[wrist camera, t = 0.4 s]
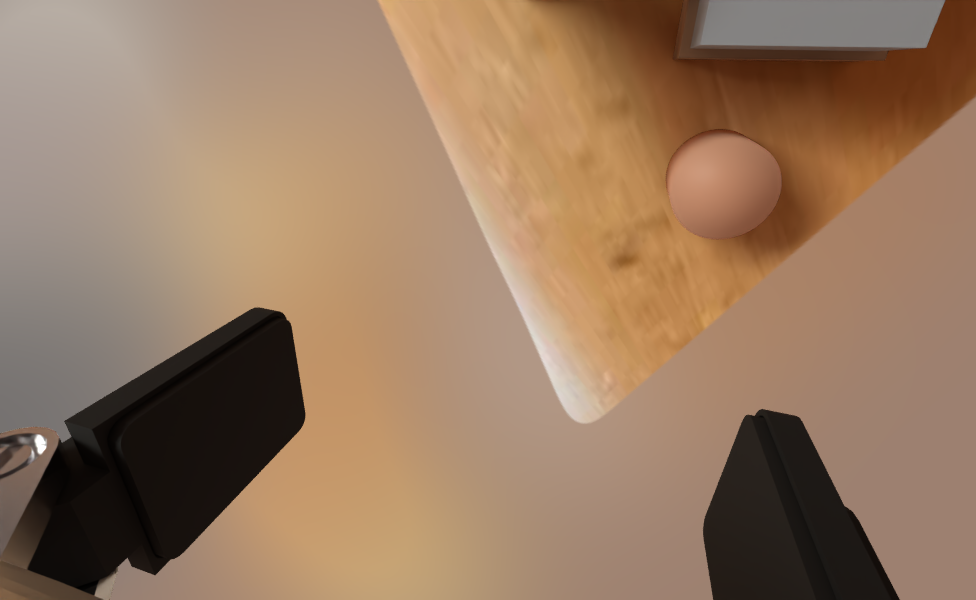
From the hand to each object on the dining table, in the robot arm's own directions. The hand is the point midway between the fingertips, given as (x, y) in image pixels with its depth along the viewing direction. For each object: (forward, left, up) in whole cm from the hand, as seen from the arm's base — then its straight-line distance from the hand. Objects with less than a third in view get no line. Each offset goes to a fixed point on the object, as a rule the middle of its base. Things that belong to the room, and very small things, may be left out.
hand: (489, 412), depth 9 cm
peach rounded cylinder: (0, +8, -28) cm, 29 cm away
